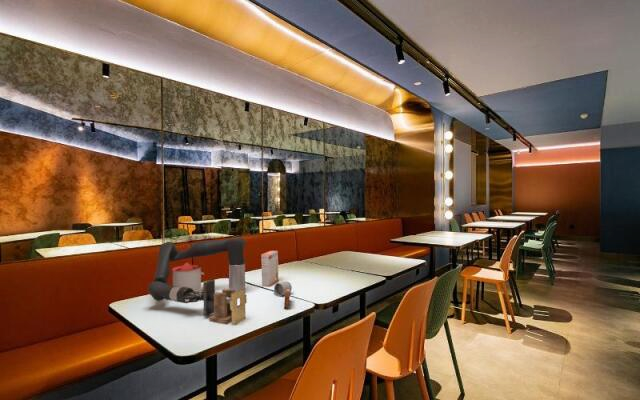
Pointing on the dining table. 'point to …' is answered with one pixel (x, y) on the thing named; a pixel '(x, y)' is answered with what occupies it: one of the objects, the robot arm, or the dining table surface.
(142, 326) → the dining table surface
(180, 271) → the citrus juicer
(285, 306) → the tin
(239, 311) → the tan wooden flat panel
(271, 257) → the cracker box
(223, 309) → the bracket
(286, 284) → the ceramic mug
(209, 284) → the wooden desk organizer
